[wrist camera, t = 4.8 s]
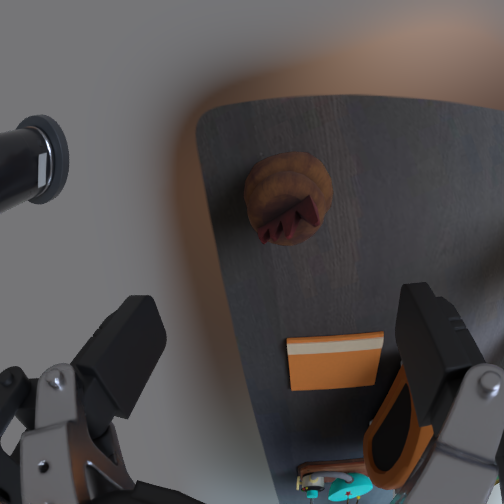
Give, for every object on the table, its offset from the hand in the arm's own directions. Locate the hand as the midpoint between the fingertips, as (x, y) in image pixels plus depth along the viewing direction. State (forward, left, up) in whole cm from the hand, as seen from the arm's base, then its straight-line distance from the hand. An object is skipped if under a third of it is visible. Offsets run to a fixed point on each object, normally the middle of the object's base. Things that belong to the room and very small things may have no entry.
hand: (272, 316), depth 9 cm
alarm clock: (+16, -33, -21) cm, 42 cm away
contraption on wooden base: (+7, -61, -21) cm, 65 cm away
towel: (+4, -24, -20) cm, 32 cm away
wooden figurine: (0, 0, -21) cm, 21 cm away
